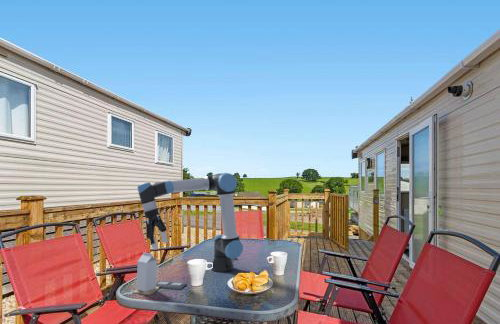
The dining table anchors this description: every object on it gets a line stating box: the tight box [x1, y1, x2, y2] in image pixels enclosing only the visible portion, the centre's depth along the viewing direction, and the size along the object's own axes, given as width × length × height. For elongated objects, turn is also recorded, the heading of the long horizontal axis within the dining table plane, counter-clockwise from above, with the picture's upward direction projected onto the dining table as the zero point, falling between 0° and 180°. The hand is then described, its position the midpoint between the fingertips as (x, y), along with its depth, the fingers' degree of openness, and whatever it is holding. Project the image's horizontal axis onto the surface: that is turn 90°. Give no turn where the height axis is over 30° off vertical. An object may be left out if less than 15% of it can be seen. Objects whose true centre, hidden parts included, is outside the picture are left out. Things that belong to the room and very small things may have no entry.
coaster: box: [132, 287, 160, 296], centre depth 166 cm, size 10×10×1 cm
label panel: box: [156, 280, 187, 290], centre depth 174 cm, size 16×9×1 cm, turn 81°
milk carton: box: [136, 251, 158, 292], centre depth 166 cm, size 7×7×19 cm
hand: (160, 245), depth 176 cm, fingers open, 13 cm apart
